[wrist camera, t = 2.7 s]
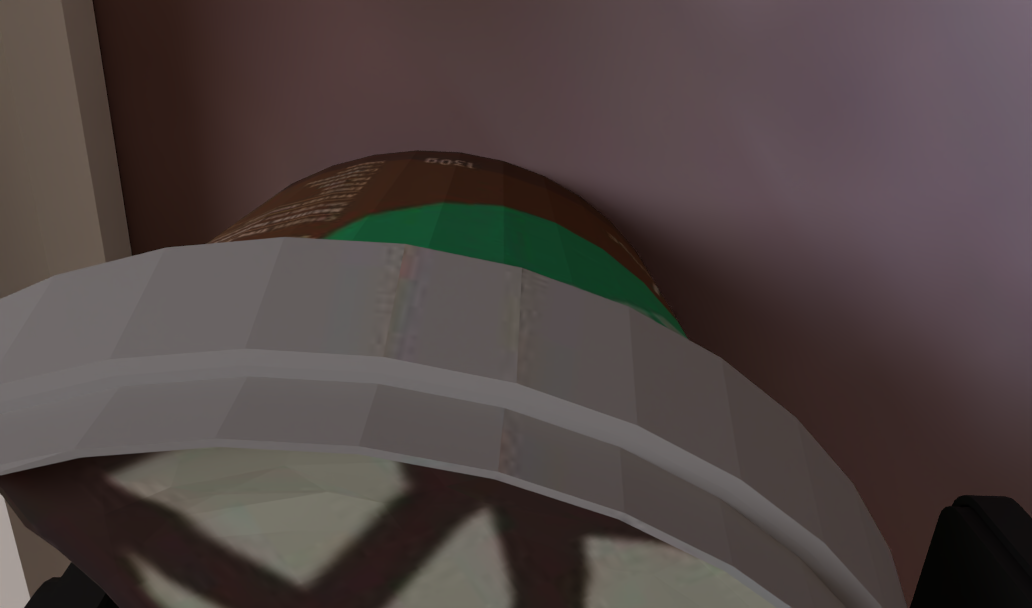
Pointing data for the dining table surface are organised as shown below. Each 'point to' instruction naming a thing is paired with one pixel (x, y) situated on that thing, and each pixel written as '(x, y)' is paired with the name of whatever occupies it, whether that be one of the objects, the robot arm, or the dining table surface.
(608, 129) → the dining table surface
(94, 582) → the robot arm
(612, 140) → the dining table surface
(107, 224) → the white dish rack
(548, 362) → the food container
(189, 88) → the dining table surface
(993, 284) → the dining table surface
